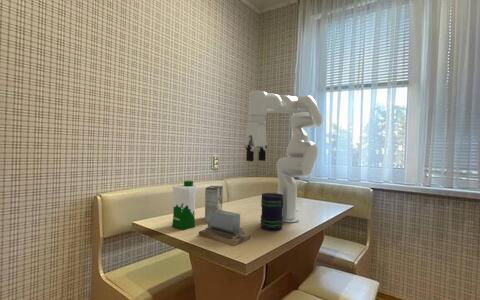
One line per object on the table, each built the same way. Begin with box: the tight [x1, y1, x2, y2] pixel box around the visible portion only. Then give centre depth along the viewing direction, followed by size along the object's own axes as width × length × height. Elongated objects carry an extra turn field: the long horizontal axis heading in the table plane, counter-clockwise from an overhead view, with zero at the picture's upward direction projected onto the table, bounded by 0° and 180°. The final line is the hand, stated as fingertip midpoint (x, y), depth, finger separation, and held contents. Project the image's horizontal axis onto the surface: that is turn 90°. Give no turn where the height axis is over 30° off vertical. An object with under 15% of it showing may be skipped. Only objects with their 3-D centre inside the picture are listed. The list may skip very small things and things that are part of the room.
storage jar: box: [260, 192, 284, 232], centre depth 118 cm, size 10×10×15 cm
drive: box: [210, 209, 241, 237], centre depth 105 cm, size 4×12×8 cm, turn 55°
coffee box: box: [204, 185, 224, 222], centre depth 130 cm, size 9×6×16 cm
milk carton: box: [172, 180, 198, 231], centre depth 116 cm, size 9×9×20 cm
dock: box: [198, 220, 251, 246], centre depth 105 cm, size 10×18×5 cm, turn 55°
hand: (256, 160), depth 112 cm, fingers open, 9 cm apart
